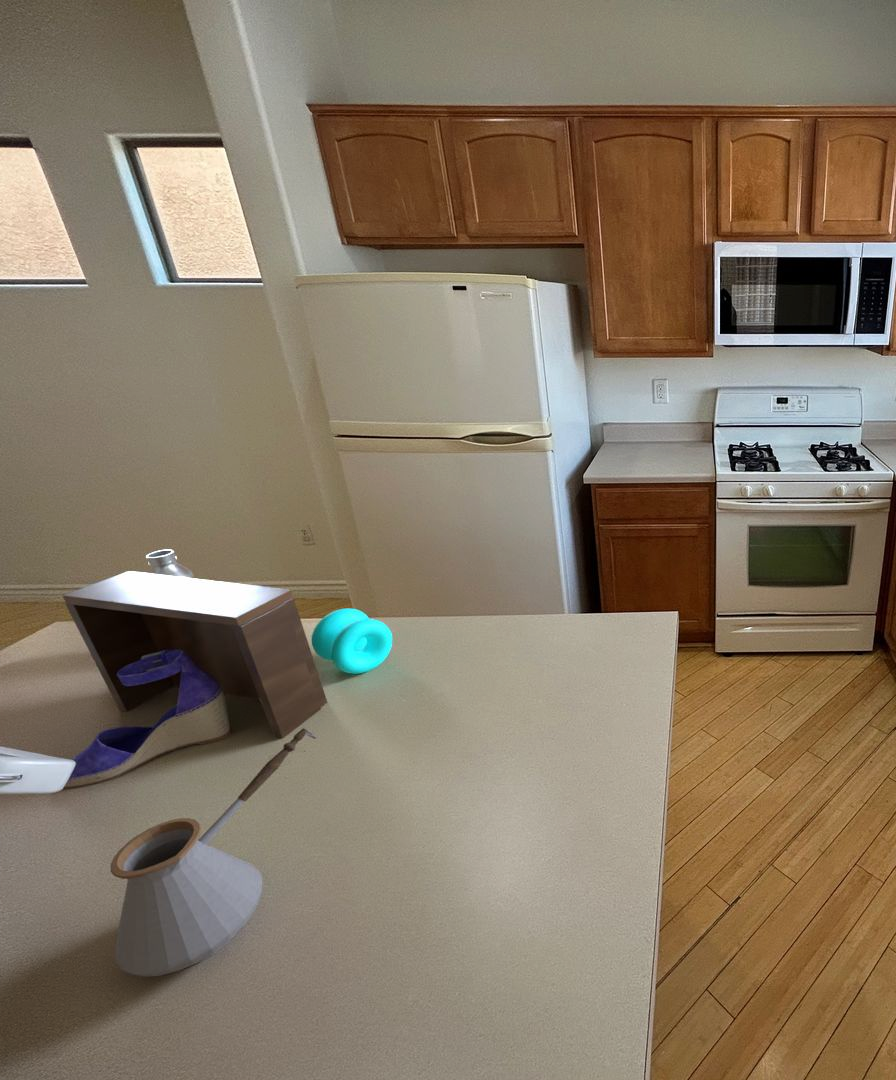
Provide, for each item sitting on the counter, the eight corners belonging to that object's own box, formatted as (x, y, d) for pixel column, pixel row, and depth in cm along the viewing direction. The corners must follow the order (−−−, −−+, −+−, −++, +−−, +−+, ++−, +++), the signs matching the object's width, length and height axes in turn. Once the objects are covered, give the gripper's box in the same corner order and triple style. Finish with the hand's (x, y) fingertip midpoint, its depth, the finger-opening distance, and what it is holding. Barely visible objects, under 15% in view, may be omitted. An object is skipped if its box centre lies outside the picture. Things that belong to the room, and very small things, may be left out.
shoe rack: (119, 710, 90) (60, 595, 82) (176, 678, 98) (127, 570, 90) (282, 738, 85) (237, 618, 76) (329, 702, 92) (292, 589, 84)
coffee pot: (170, 1012, 52) (103, 906, 46) (100, 964, 55) (30, 860, 50) (373, 829, 70) (344, 737, 64) (311, 802, 74) (278, 712, 68)
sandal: (76, 755, 81) (29, 670, 75) (243, 720, 88) (211, 640, 83) (40, 796, 74) (-15, 707, 68) (224, 754, 81) (188, 670, 76)
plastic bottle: (175, 661, 102) (133, 564, 95) (176, 646, 107) (136, 552, 99) (221, 649, 106) (183, 554, 99) (220, 634, 111) (184, 543, 103)
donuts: (344, 686, 96) (329, 637, 93) (316, 667, 101) (301, 620, 98) (400, 658, 104) (389, 612, 100) (372, 642, 109) (360, 598, 105)
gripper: (-11, 746, 58) (134, 750, 70) (-150, 719, 61) (12, 728, 74) (-50, 812, 55) (107, 805, 68) (-192, 780, 59) (-18, 779, 72)
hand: (57, 764), depth 71 cm, fingers closed
